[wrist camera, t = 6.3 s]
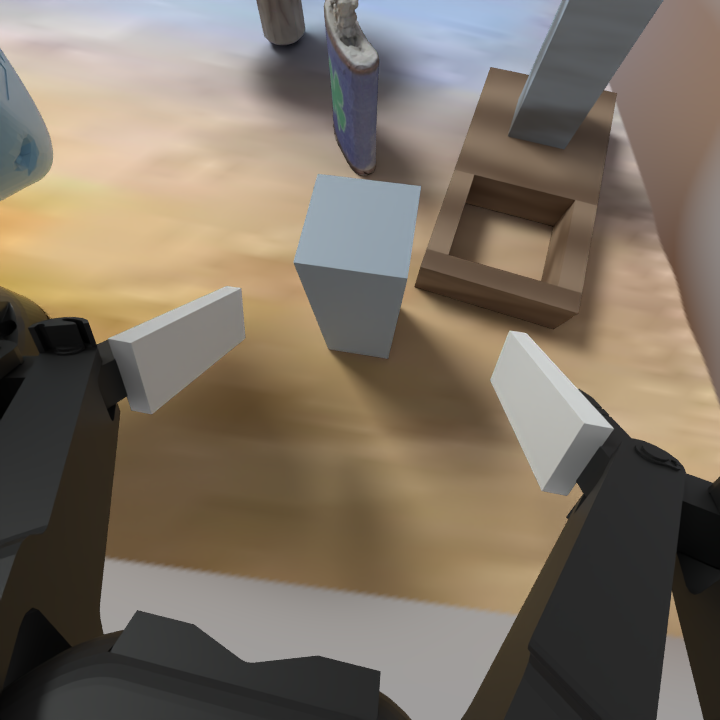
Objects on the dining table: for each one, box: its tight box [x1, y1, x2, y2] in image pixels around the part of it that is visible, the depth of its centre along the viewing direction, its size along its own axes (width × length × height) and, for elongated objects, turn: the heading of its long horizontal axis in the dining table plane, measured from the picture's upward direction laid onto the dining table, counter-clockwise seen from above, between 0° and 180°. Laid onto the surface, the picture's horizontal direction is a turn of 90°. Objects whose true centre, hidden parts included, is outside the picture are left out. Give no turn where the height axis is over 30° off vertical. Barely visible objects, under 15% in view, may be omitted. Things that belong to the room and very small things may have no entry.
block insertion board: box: [415, 0, 663, 329], centre depth 22 cm, size 24×12×12 cm, turn 160°
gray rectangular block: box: [294, 174, 421, 359], centre depth 19 cm, size 5×5×12 cm
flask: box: [324, 0, 379, 176], centre depth 25 cm, size 9×3×11 cm, turn 17°
